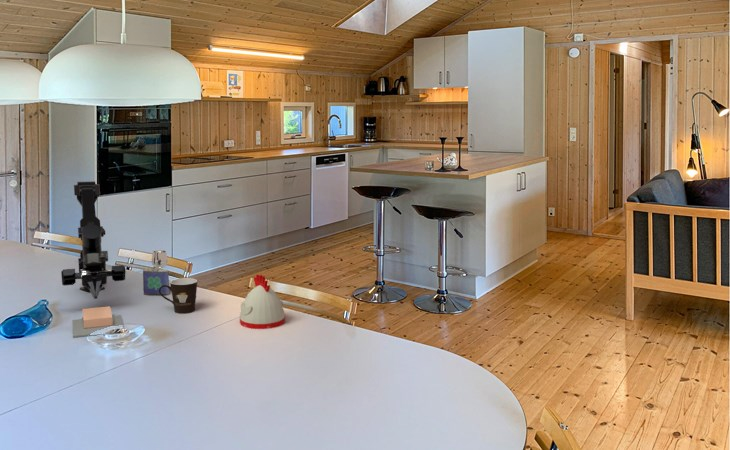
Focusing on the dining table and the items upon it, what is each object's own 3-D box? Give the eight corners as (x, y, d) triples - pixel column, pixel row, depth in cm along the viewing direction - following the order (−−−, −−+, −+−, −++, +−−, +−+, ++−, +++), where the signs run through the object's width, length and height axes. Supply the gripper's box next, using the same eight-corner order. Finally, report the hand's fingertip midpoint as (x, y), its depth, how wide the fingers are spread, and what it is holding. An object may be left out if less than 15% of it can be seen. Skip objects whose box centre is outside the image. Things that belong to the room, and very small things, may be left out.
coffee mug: (203, 308, 214) (202, 279, 212) (188, 316, 206) (187, 285, 204) (173, 304, 217) (172, 276, 216) (157, 311, 209) (156, 282, 208)
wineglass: (154, 284, 242) (152, 253, 240) (151, 281, 247) (150, 250, 245) (169, 283, 244) (168, 252, 242) (166, 279, 249) (165, 249, 247)
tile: (82, 309, 200) (83, 320, 190) (109, 306, 204) (112, 317, 193) (82, 317, 201) (83, 328, 190) (110, 314, 204) (112, 325, 194)
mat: (72, 321, 198) (72, 319, 198) (120, 316, 204) (120, 314, 204) (73, 337, 184) (72, 336, 184) (124, 331, 190) (124, 330, 190)
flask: (170, 293, 230) (169, 264, 229) (167, 296, 228) (166, 266, 226) (145, 293, 231) (143, 264, 229) (141, 295, 228) (140, 266, 226)
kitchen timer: (269, 312, 211) (268, 268, 208) (293, 323, 201) (293, 276, 198) (231, 320, 202) (230, 274, 199) (254, 332, 192) (254, 283, 189)
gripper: (59, 244, 199) (61, 287, 191) (123, 240, 206) (128, 282, 198) (61, 263, 207) (63, 306, 199) (122, 259, 215) (127, 299, 207)
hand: (95, 298), depth 201 cm, fingers closed
